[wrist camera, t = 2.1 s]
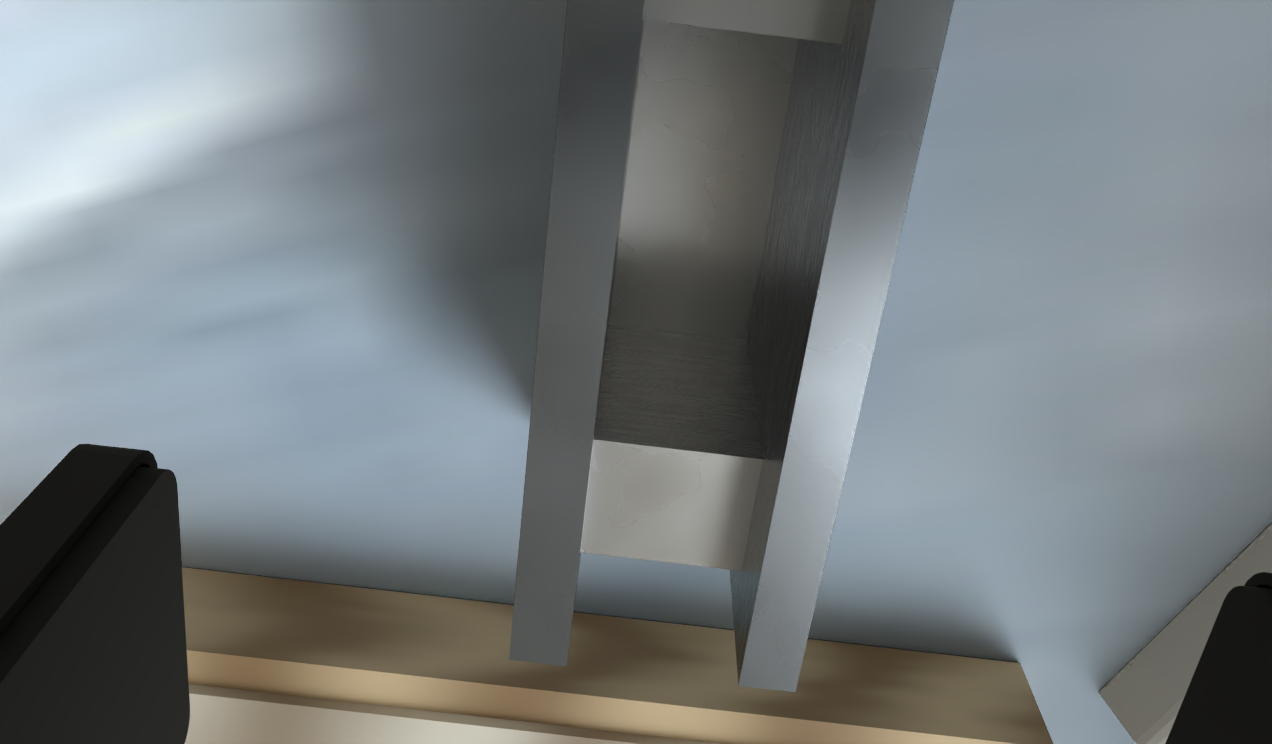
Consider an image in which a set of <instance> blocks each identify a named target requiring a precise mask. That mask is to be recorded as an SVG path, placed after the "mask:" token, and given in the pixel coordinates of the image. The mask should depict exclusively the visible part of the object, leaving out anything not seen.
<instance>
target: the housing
mask: <svg viewBox="0 0 1272 744" xmlns="http://www.w3.org/2000/svg"><path fill="white" fill-rule="evenodd" d="M953 3H954V0H568V2H567V13H566V24H565V35H564V46H563V58H562V69H561V80H560V91H559V103H558V114H557V125H556V136H555V148H554V159H553V170H552V181H551V193H550V204H549V215H548V226H547V238H546V249H545V260H544V271H543V283H542V294H541V305H540V316H539V328H538V339H537V350H536V361H535V373H534V384H533V395H532V406H531V417H530V429H529V440H528V451H527V462H526V474H525V485H524V496H523V507H522V519H521V530H520V541H519V552H518V564H517V575H516V586H515V597H514V609H513V620H512V631H511V642H510V654H509V660H515V661H524V662H533V663H542V664H550V665H559V666H567V659H568V651H569V643H570V635H571V627H572V619H573V611H574V604H575V596H576V588H577V580H578V572H579V564H580V556H581V552H583V553H591V554H600V555H609V556H617V557H626V558H634V559H643V560H652V561H660V562H669V563H678V564H686V565H695V566H704V567H712V568H721V569H729V570H730V580H731V593H732V607H733V620H734V634H735V647H736V661H737V674H738V686H744V687H753V688H762V689H771V690H780V691H788V692H796V687H797V683H798V679H799V674H800V670H801V666H802V661H803V657H804V653H805V648H806V644H807V639H808V635H809V631H810V626H811V622H812V618H813V613H814V609H815V605H816V600H817V596H818V592H819V587H820V583H821V578H822V574H823V570H824V565H825V561H826V557H827V552H828V548H829V544H830V539H831V535H832V530H833V526H834V522H835V517H836V513H837V509H838V504H839V500H840V496H841V491H842V487H843V483H844V478H845V474H846V469H847V465H848V461H849V456H850V452H851V448H852V443H853V439H854V435H855V430H856V426H857V422H858V417H859V413H860V408H861V404H862V400H863V395H864V391H865V387H866V382H867V378H868V374H869V369H870V365H871V360H872V356H873V352H874V347H875V343H876V339H877V334H878V330H879V326H880V321H881V317H882V313H883V308H884V304H885V299H886V295H887V291H888V286H889V282H890V278H891V273H892V269H893V265H894V260H895V256H896V252H897V247H898V243H899V238H900V234H901V230H902V225H903V221H904V217H905V212H906V208H907V204H908V199H909V195H910V191H911V186H912V182H913V177H914V173H915V169H916V164H917V160H918V156H919V151H920V147H921V143H922V138H923V134H924V129H925V125H926V121H927V116H928V112H929V108H930V103H931V99H932V95H933V90H934V86H935V82H936V77H937V73H938V68H939V64H940V60H941V55H942V51H943V47H944V42H945V38H946V34H947V29H948V25H949V21H950V16H951V12H952V7H953Z"/></svg>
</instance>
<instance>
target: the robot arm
mask: <svg viewBox="0 0 1272 744" xmlns="http://www.w3.org/2000/svg"><path fill="white" fill-rule="evenodd" d="M189 721H190V699H189V682H188V665H187V647H186V630H185V613H184V596H183V578H182V561H181V544H180V527H179V509H178V492H177V482H176V478H175V475H174V473H173V472H172V471H171V470H167V469H158V468H157V463H156V460H155V458H154V455H153V454H152V453H150V452H149V451H146V450H137V449H128V448H119V447H110V446H100V445H91V444H79V445H78V446H76V447H75V448H74V449H72V450H71V451H70V452H69V453H68V454H67V455H66V456H65V458H64V459H63V460H62V461H61V462H60V463H59V464H58V465H57V466H56V467H55V468H54V469H53V470H52V471H51V472H50V473H49V474H48V475H47V477H46V478H45V479H44V480H43V481H42V482H41V483H40V484H39V485H38V486H37V487H36V488H35V489H34V490H33V491H32V492H31V493H30V494H29V496H28V497H27V498H26V499H25V500H24V501H23V502H22V503H21V504H20V505H19V506H18V507H17V508H16V509H15V510H14V511H13V512H12V513H11V515H10V516H9V517H8V518H7V519H6V520H5V521H4V522H3V523H2V524H1V525H0V744H185V741H186V737H187V733H188V728H189ZM1165 744H1272V573H1269V572H1261V573H1257V574H1254V575H1253V576H1252V577H1251V578H1250V579H1249V580H1247V581H1246V583H1245V585H1244V586H1237V587H1234V588H1233V589H1231V590H1230V591H1229V592H1228V594H1227V595H1226V597H1225V599H1224V601H1223V603H1222V606H1221V608H1220V611H1219V613H1218V616H1217V618H1216V621H1215V623H1214V625H1213V628H1212V630H1211V633H1210V635H1209V638H1208V640H1207V643H1206V645H1205V648H1204V650H1203V652H1202V655H1201V657H1200V660H1199V662H1198V665H1197V667H1196V670H1195V672H1194V675H1193V677H1192V679H1191V682H1190V684H1189V687H1188V689H1187V692H1186V694H1185V697H1184V699H1183V702H1182V704H1181V706H1180V709H1179V711H1178V714H1177V716H1176V719H1175V721H1174V724H1173V726H1172V728H1171V731H1170V733H1169V736H1168V738H1167V741H1166V743H1165Z"/></svg>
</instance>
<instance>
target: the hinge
mask: <svg viewBox="0 0 1272 744" xmlns="http://www.w3.org/2000/svg"><path fill="white" fill-rule="evenodd" d="M1261 572H1269V573H1272V524H1271V525H1270V526H1269V527H1268V528H1266V529H1265V530H1264V531H1263V532H1262V533H1261V534H1260V535H1259V536H1258V537H1257V538H1256V539H1255V540H1254V541H1253V542H1252V543H1251V544H1250V545H1249V546H1248V547H1247V548H1246V549H1245V550H1244V551H1243V552H1242V553H1241V554H1240V555H1239V556H1238V557H1237V558H1236V559H1235V560H1234V561H1233V562H1232V563H1231V564H1230V565H1229V566H1228V567H1226V568H1225V569H1224V570H1223V571H1222V572H1221V573H1220V574H1219V575H1218V576H1217V577H1216V578H1215V579H1214V580H1213V581H1212V582H1211V583H1210V584H1209V585H1208V586H1207V587H1206V588H1205V589H1204V590H1203V591H1202V592H1201V593H1200V594H1199V595H1198V596H1197V597H1196V598H1195V599H1194V600H1193V601H1192V602H1191V603H1190V604H1189V605H1188V606H1186V607H1185V608H1184V609H1183V610H1182V611H1181V612H1180V613H1179V614H1178V615H1177V616H1176V617H1175V618H1174V619H1173V620H1172V621H1171V622H1170V623H1169V624H1168V625H1167V626H1166V627H1165V628H1164V629H1163V630H1162V631H1161V632H1160V633H1159V634H1158V635H1157V636H1156V637H1155V638H1154V639H1153V640H1152V641H1151V642H1150V643H1149V644H1148V645H1146V646H1145V647H1144V648H1143V649H1142V650H1141V651H1140V652H1139V653H1138V654H1137V655H1136V656H1135V657H1134V658H1133V659H1132V660H1131V661H1130V662H1129V663H1128V664H1127V665H1126V666H1125V667H1124V668H1123V669H1122V670H1121V671H1120V672H1119V673H1118V674H1117V675H1116V676H1115V677H1114V678H1113V679H1112V680H1111V681H1110V682H1109V683H1108V684H1106V685H1105V686H1104V687H1103V688H1102V689H1101V690H1100V691H1099V694H1100V695H1101V696H1102V698H1103V699H1104V700H1105V702H1106V703H1107V705H1108V706H1109V707H1110V709H1111V710H1112V711H1113V713H1114V714H1115V715H1116V717H1117V718H1118V720H1119V721H1120V722H1121V724H1122V725H1123V726H1124V728H1125V729H1126V731H1127V732H1128V733H1129V735H1130V736H1131V737H1132V739H1133V740H1134V741H1135V742H1136V743H1137V744H1165V743H1166V741H1167V738H1168V736H1169V733H1170V731H1171V728H1172V726H1173V724H1174V721H1175V719H1176V716H1177V714H1178V711H1179V709H1180V706H1181V704H1182V702H1183V699H1184V697H1185V694H1186V692H1187V689H1188V687H1189V684H1190V682H1191V679H1192V677H1193V675H1194V672H1195V670H1196V667H1197V665H1198V662H1199V660H1200V657H1201V655H1202V652H1203V650H1204V648H1205V645H1206V643H1207V640H1208V638H1209V635H1210V633H1211V630H1212V628H1213V625H1214V623H1215V621H1216V618H1217V616H1218V613H1219V611H1220V608H1221V606H1222V603H1223V601H1224V599H1225V597H1226V595H1227V594H1228V592H1229V591H1230V590H1231V589H1233V588H1234V587H1237V586H1244V585H1245V583H1246V581H1247V580H1249V579H1250V578H1251V577H1252V576H1253V575H1254V574H1257V573H1261Z"/></svg>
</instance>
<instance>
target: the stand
mask: <svg viewBox="0 0 1272 744" xmlns="http://www.w3.org/2000/svg"><path fill="white" fill-rule="evenodd" d="M182 578H183V596H184V613H185V630H186V647H187V665H188V682H189V699H190V721H189V728H188V733H187V737H186V741H185V744H1053V742H1052V739H1051V737H1050V735H1049V732H1048V730H1047V727H1046V725H1045V722H1044V720H1043V718H1042V715H1041V713H1040V710H1039V708H1038V705H1037V703H1036V701H1035V698H1034V696H1033V693H1032V691H1031V688H1030V686H1029V684H1028V681H1027V679H1026V676H1025V674H1024V671H1023V669H1022V667H1021V664H1020V663H1014V662H1005V661H996V660H988V659H979V658H970V657H962V656H953V655H944V654H935V653H927V652H918V651H909V650H900V649H892V648H883V647H874V646H866V645H857V644H848V643H839V642H831V641H822V640H813V639H807V644H806V648H805V653H804V657H803V661H802V666H801V670H800V674H799V679H798V683H797V687H796V692H788V691H780V690H771V689H762V688H753V687H744V686H738V674H737V661H736V647H735V634H734V630H726V629H717V628H708V627H700V626H691V625H682V624H674V623H665V622H656V621H647V620H639V619H630V618H621V617H613V616H604V615H595V614H586V613H578V612H573V619H572V627H571V635H570V643H569V651H568V659H567V666H559V665H550V664H542V663H533V662H524V661H515V660H509V654H510V642H511V631H512V620H513V609H514V605H508V604H499V603H490V602H482V601H473V600H464V599H455V598H447V597H438V596H429V595H421V594H412V593H403V592H394V591H386V590H377V589H368V588H359V587H351V586H342V585H333V584H325V583H316V582H307V581H298V580H290V579H281V578H272V577H263V576H255V575H246V574H237V573H229V572H220V571H211V570H202V569H194V568H185V567H182Z"/></svg>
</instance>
